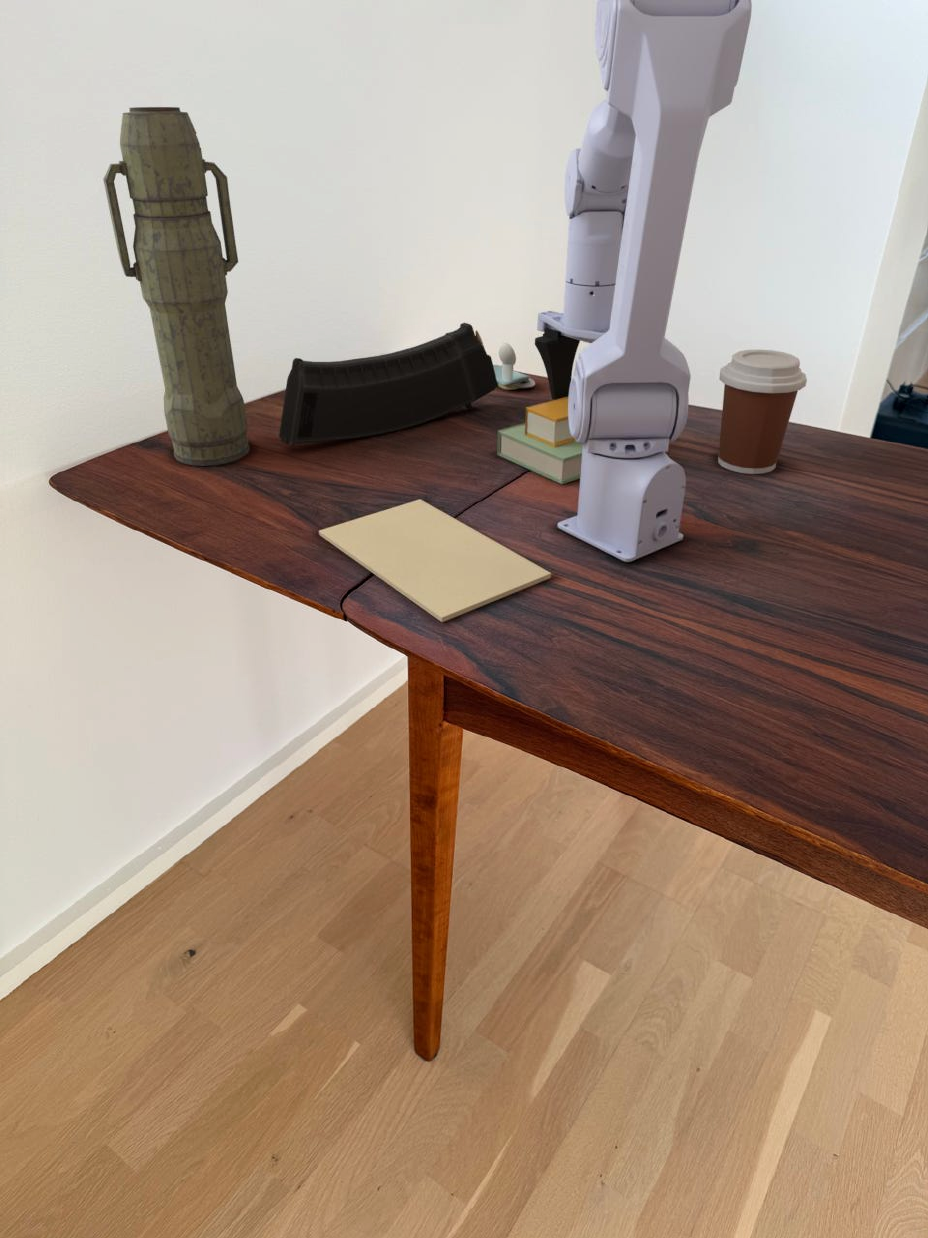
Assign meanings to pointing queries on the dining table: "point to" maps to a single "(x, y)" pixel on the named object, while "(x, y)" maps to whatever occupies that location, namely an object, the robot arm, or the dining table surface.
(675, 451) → the dining table surface
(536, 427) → the pocket book
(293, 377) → the magazine
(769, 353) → the coffee cup (beverage)
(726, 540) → the dining table surface
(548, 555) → the dining table surface
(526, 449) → the hardback
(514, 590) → the mat
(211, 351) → the green canister
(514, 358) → the pacifier
